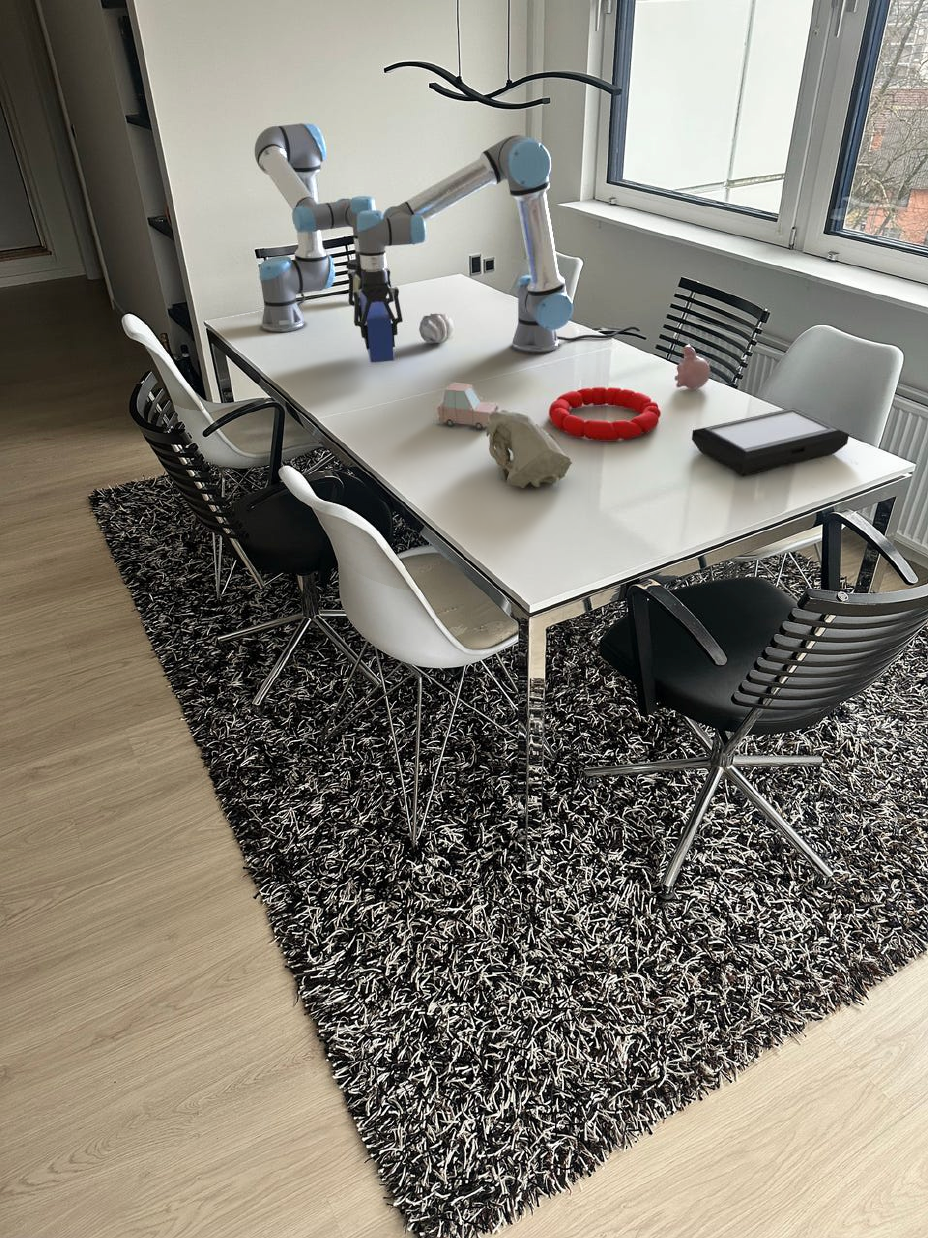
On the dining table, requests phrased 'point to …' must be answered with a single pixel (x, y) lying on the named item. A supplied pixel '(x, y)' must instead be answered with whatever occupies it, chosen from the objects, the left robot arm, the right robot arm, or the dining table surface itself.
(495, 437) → the animal skull
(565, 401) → the decorative ring
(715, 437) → the electronic device
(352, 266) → the coffee cup
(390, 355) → the box
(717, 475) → the dining table surface
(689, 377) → the figurine
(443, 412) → the toy car
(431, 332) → the seashell
